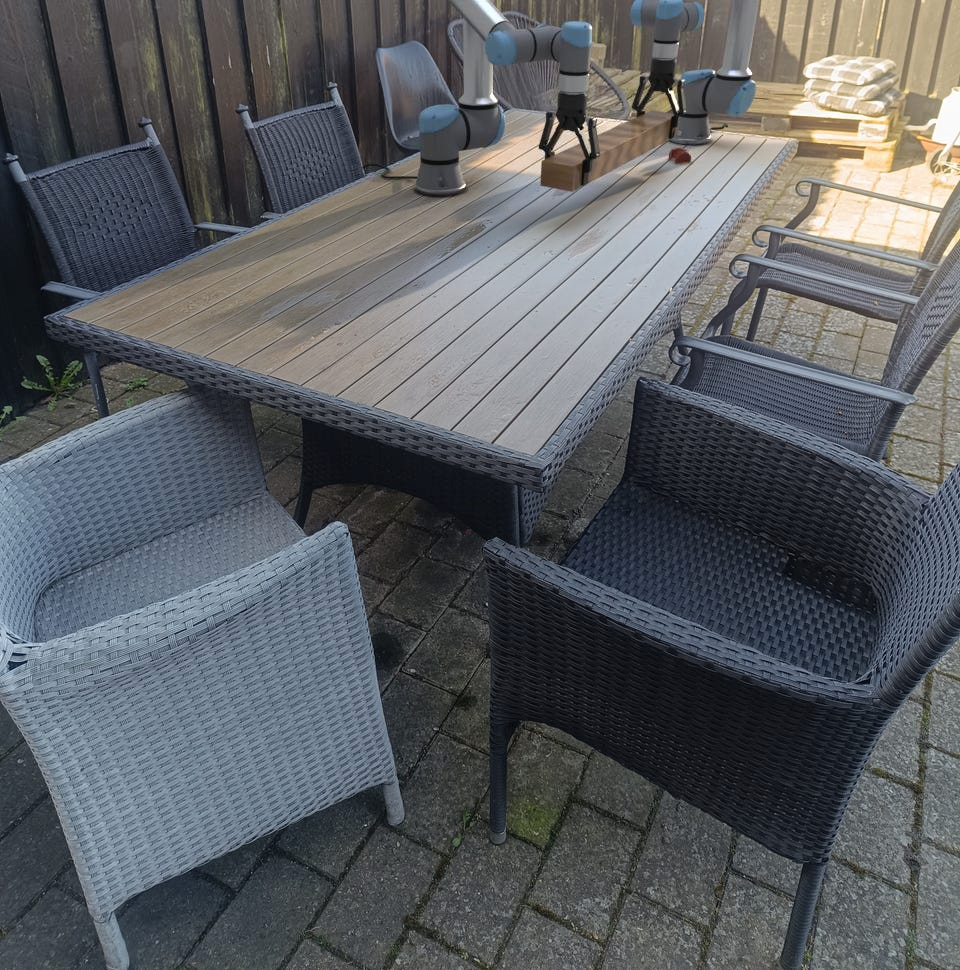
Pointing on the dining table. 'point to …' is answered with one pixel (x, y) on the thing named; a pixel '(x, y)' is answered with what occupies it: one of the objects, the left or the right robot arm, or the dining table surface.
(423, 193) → the left robot arm
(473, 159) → the dining table surface
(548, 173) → the wooden beam
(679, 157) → the dark red lumpy piece
